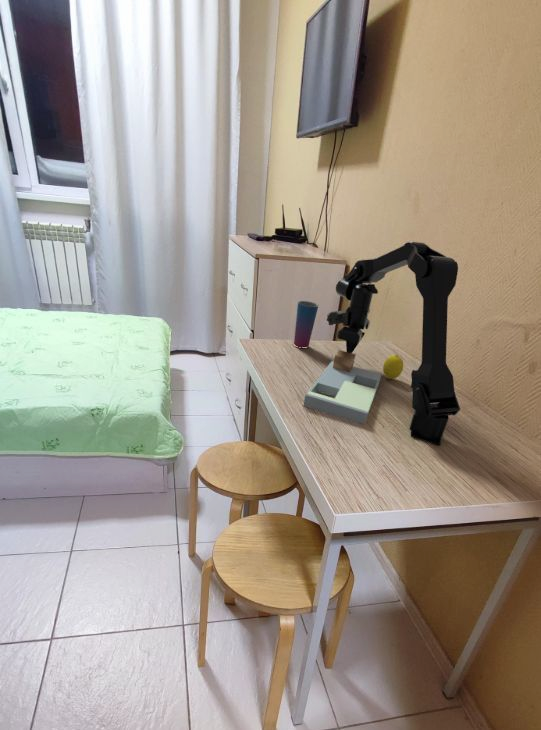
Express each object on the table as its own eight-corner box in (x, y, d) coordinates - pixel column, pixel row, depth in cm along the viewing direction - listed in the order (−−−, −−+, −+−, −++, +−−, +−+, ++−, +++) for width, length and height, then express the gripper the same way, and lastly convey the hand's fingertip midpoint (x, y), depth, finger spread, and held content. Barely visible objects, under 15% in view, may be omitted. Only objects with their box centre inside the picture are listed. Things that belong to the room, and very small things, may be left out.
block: (352, 366, 112) (355, 354, 111) (349, 372, 108) (352, 359, 106) (336, 362, 114) (339, 350, 112) (332, 367, 109) (335, 355, 108)
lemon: (396, 376, 116) (403, 352, 113) (400, 384, 111) (408, 359, 108) (379, 373, 116) (385, 349, 113) (382, 381, 111) (389, 356, 108)
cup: (287, 342, 131) (294, 300, 125) (304, 342, 134) (311, 300, 128) (297, 350, 126) (304, 306, 120) (314, 349, 129) (322, 306, 123)
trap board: (379, 381, 111) (382, 372, 110) (364, 424, 88) (367, 413, 86) (330, 368, 115) (332, 359, 114) (303, 405, 92) (305, 394, 91)
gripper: (339, 294, 120) (330, 340, 126) (324, 305, 104) (314, 357, 110) (375, 301, 116) (363, 348, 122) (365, 314, 100) (352, 367, 106)
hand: (348, 354), depth 115 cm, fingers closed
